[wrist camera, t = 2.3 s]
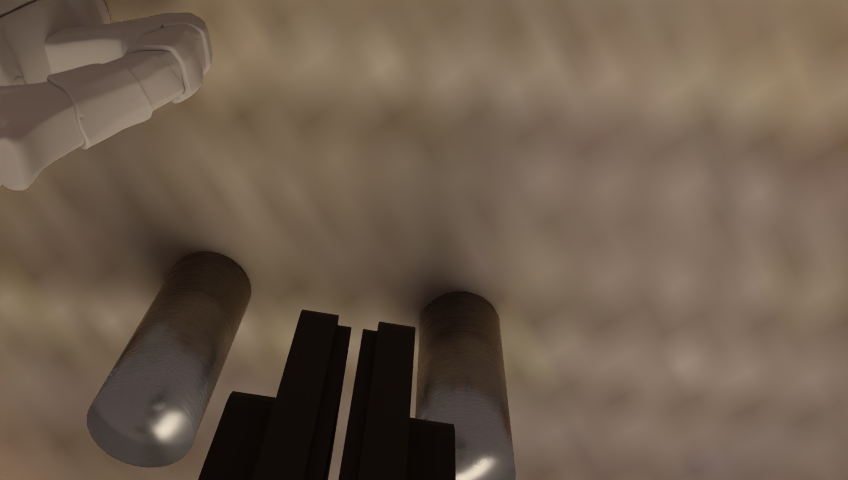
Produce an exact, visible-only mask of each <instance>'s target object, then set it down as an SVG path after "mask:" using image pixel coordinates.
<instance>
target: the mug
mask: <svg viewBox="0 0 848 480" xmlns="http://www.w3.org/2000/svg"><path fill="white" fill-rule="evenodd" d="M211 61H212V49H211V43H210V37H209V33H208V29H207V26H206V24H205V22H204V21H203V20H202V19H200V18H199V17H197V16H195V15H194V14H191V13H166V14H160V15H155V16H150V17H146V18H141V19H135V20H129V21H123V22H116V23H111V19H110V16H109V13H108V10H107V7H106V5H105V2H104V0H0V186H1V185H3V186H5V187H6V188H8V189H10V190H25V189H27V188H28V187H29V186H30V185H31V184H32V183H33V181H34V180H35V179H36V177H37V176H38V175H39V174H40V172H41V171H42V170H43V169H45V168H46V167H47V166H48V165H50V164H51V163H53V162H54V161H56V160H58V159H59V158H61V157H63V156H65V155H66V154H68V153H69V152H71V151H72V150H74V149H76V148H78V147H81V148H82V149H88V148H89V147H91V146H93V145H95V144H97V143H99V142H101V141H103V140H105V139H107V138H109V137H111V136H112V135H114V134H116V133H118V132H119V131H121V130H123V129H125V128H128V127H130V126H133V125H136V124H138V123H141V122H144V121H146V120H148V119H150V117H151V115H152V111H154V110H156V109H158V108H159V107H161V106H163V105H165V104H166V103H168V102H170V101H171V102H172V103H180V102H182V101H184V100H185V99H187V98H189V97H190V96H191V95H193V94H194V93H195V92H196V91H197V90H198V89H199V88H200V87H201V85H202V83H203V75H204V74H205V73H206V72H207V71H208V70H209V68H210V65H211Z"/></svg>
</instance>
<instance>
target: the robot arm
mask: <svg viewBox="0 0 848 480" xmlns="http://www.w3.org/2000/svg"><path fill="white" fill-rule="evenodd" d="M338 318H339V315H334V314H327V313H321V312H314V311H308V310H302V311H301V314H300V317H299V320H298V324H297V327H296V331H295V334H294V338H293V341H292V345H291V348H290V351H289V355H288V358H287V362H286V365H285V369H284V372H283V376H282V379H281V383H280V386H279V389H278V393H277V396H276V398H275V397H268V396H261V395H255V394H248V393H241V392H235V391H233V392H232V393H231V394H230V396H229V398H228V401H227V403H226V405H225V408H224V411H223V414H222V416H221V419H220V422H219V424H218V427H217V430H216V433H215V435H214V438H213V441H212V443H211V446H210V449H209V452H208V454H207V457H206V460H205V462H204V465H203V468H202V471H201V473H200V476H199V479H198V480H328V476H329V470H330V464H331V458H332V451H333V445H334V438H335V432H336V425H337V419H338V412H339V406H340V399H341V393H342V386H343V380H344V373H345V367H346V360H347V354H348V347H349V341H350V334H351V327H346V326H340V325H338ZM414 343H415V327H410V326H404V325H398V324H391V323H385V322H379V324H378V330H377V331H372V330H366V329H363V333H362V340H361V346H360V352H359V358H358V364H357V370H356V376H355V382H354V389H353V395H352V401H351V407H350V413H349V419H348V425H347V431H346V438H345V444H344V450H343V456H342V462H341V468H340V474H339V480H456V456H455V427H454V424H449V423H443V422H436V421H429V420H423V419H416V418H410V405H411V389H412V374H413V359H414Z"/></svg>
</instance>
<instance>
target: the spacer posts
mask: <svg viewBox="0 0 848 480" xmlns="http://www.w3.org/2000/svg"><path fill="white" fill-rule="evenodd" d="M250 297H251V286H250V282H249V279H248V277H247V275H246V274H245V272H244V271H243V269H242V268H241V267H240V266H239V265H238V264H237V263H235V262H234V261H233V260H231V259H229V258H227V257H225V256H223V255H220V254H217V253H212V252H197V253H193V254H190V255H187V256H185V257H183V258H182V259H181V260H179V261H178V262H177V263H176V264H175V266H174V267H173V269H172V271H171V272H170V274H169V276H168V277H167V279H166V281H165V282H164V284H163V286H162V287H161V289H160V291H159V292H158V294H157V296H156V297H155V299H154V301H153V302H152V304H151V306H150V307H149V309H148V311H147V312H146V314H145V316H144V317H143V319H142V321H141V322H140V324H139V326H138V327H137V329H136V331H135V333H134V334H133V336H132V338H131V339H130V341H129V343H128V344H127V346H126V348H125V349H124V351H123V353H122V354H121V356H120V358H119V359H118V361H117V363H116V364H115V366H114V368H113V369H112V371H111V373H110V374H109V376H108V378H107V379H106V381H105V383H104V384H103V386H102V388H101V389H100V391H99V393H98V394H97V396H96V398H95V399H94V401H93V403H92V404H91V406H90V408H89V411H88V415H87V425H88V429H89V432H90V434H91V436H92V438H93V439H94V441H95V442H96V443H97V444H98V446H99V447H100V448H102V449H103V450H104V451H105V452H106V453H108V454H109V455H111V456H112V457H114V458H116V459H118V460H120V461H122V462H125V463H127V464H131V465H134V466H140V467H161V466H166V465H169V464H172V463H174V462H176V461H178V460H180V459H181V458H182V457H183V456H185V455H186V453H187V452H188V451H189V449H190V447H191V445H192V443H193V440H194V438H195V435H196V433H197V430H198V428H199V425H200V423H201V420H202V418H203V415H204V413H205V410H206V408H207V405H208V403H209V400H210V398H211V395H212V393H213V390H214V388H215V385H216V383H217V380H218V378H219V375H220V373H221V370H222V368H223V365H224V363H225V360H226V358H227V355H228V353H229V350H230V348H231V345H232V343H233V340H234V338H235V335H236V333H237V330H238V328H239V325H240V323H241V321H242V318H243V316H244V313H245V311H246V308H247V306H248V303H249V300H250ZM415 418H416V419H423V420H429V421H436V422H443V423H449V424H454V427H455V456H456V480H515V464H514V454H513V445H512V436H511V426H510V417H509V408H508V398H507V389H506V380H505V371H504V361H503V352H502V343H501V333H500V324H499V318H498V315H497V313H496V311H495V309H494V308H493V306H492V305H491V304H490V303H489V302H488V301H486V300H485V299H483V298H481V297H479V296H477V295H474V294H471V293H464V292H455V293H449V294H445V295H443V296H440V297H438V298H436V299H435V300H433V301H432V302H431V303H430V304H429V305H428V306H427V307H426V308H425V310H424V311H423V314H422V316H421V319H420V332H419V352H418V373H417V393H416V414H415Z"/></svg>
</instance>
